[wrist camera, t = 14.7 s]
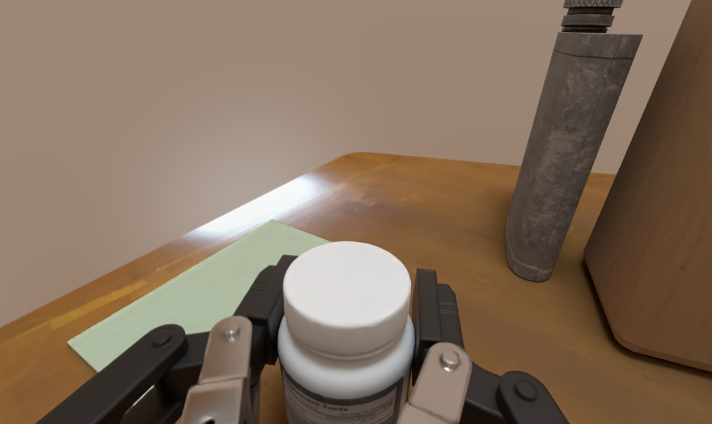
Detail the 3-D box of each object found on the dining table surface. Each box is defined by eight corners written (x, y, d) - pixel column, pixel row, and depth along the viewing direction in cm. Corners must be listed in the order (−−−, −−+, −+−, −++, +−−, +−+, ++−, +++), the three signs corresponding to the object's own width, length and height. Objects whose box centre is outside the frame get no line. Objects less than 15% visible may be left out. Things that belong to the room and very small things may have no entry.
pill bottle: (329, 363, 17) (326, 222, 13) (416, 408, 15) (443, 258, 11) (265, 452, 14) (234, 293, 10) (369, 526, 12) (385, 365, 8)
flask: (496, 271, 25) (579, -20, 16) (507, 195, 36) (559, 0, 28) (550, 286, 24) (673, -23, 15) (544, 202, 35) (611, 0, 26)
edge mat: (151, 424, 15) (149, 420, 15) (68, 345, 19) (66, 341, 18) (345, 250, 27) (345, 247, 27) (272, 222, 31) (271, 219, 30)
